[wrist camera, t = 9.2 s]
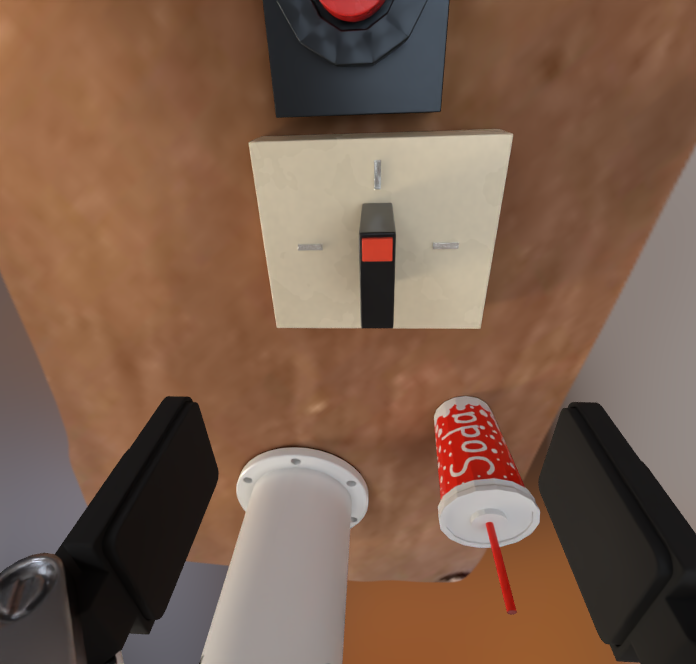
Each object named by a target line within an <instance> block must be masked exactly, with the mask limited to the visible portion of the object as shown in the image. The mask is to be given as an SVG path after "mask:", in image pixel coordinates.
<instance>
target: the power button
mask: <svg viewBox="0 0 696 664" xmlns="http://www.w3.org/2000/svg"><path fill="white" fill-rule="evenodd" d="M319 1H320V2H321V4H322V5H323V6H324V8H325V9H326V10H327V11H328V12H329V13H330V14H331V15H333V16H334V17H336V18H338V19H340V20H342V21H346V22H358V21H362V20H365V19H367V18H369V17H370V16H372V15H373V14H374V13H376V12H377V11H378V10H379V8H380V7H381V6H382V5H383V3H384V2H385V0H319Z"/></svg>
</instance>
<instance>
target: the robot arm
mask: <svg viewBox="0 0 696 664" xmlns="http://www.w3.org/2000/svg"><path fill="white" fill-rule="evenodd" d="M217 481H218V467H217V464H216V461H215V457H214V454H213V451H212V447H211V444H210V441H209V438H208V434H207V431H206V428H205V424H204V421H203V418H202V415H201V411H200V408H199V405H198V404H197V403H196V402H193V401H192V399H191V398H190V397H173V396H168V397H166V398H165V399H164V400H163V401H162V402H161V404H160V405H159V407H158V408H157V410H156V411H155V412H154V414H153V415H152V417H151V418H150V420H149V421H148V423H147V424H146V426H145V427H144V428H143V430H142V431H141V433H140V434H139V436H138V437H137V439H136V440H135V442H134V443H133V444H132V446H131V447H130V449H128V450H127V452H126V453H125V454H124V455H123V456H122V458H121V459H120V461H119V462H118V464H117V465H116V467H115V468H114V469H113V471H112V472H111V474H110V475H109V477H108V478H107V480H106V481H105V482H104V484H103V485H102V487H101V488H100V490H99V491H98V493H97V494H96V495H95V497H94V498H93V500H92V501H91V503H90V504H89V506H88V507H87V508H86V510H85V511H84V513H83V514H82V516H81V517H80V519H79V520H78V521H77V523H76V524H75V526H74V527H73V529H72V530H71V532H70V533H69V534H68V536H67V538H66V539H65V540H64V542H63V543H62V545H61V546H60V547H59V549H58V551H57V552H56V553H55V554H49V553H40V554H35V555H31V556H28V557H26V558H24V559H21V560H19V561H17V562H15V563H14V564H12V565H11V566H9V567H7V568H6V569H4V570H3V571H2V572H1V573H0V664H124V662H123V657H122V653H121V650H122V648H123V646H124V644H125V642H126V639H127V637H128V635H129V633H132V634H149V633H150V631H151V629H152V626H153V624H154V621H155V620H158V619H160V618H161V617H162V616H163V614H164V612H165V610H166V608H167V605H168V603H169V601H170V598H171V595H172V593H173V591H174V588H175V586H176V583H177V581H178V578H179V576H180V573H181V571H182V568H183V566H184V563H185V561H186V559H187V556H188V554H189V551H190V549H191V546H192V544H193V541H194V539H195V536H196V534H197V531H198V529H199V526H200V524H201V521H202V519H203V516H204V514H205V512H206V509H207V507H208V504H209V502H210V499H211V497H212V494H213V492H214V489H215V487H216V484H217ZM539 490H540V493H541V496H542V498H543V501H544V503H545V506H546V508H547V511H548V513H549V515H550V518H551V520H552V522H553V525H554V528H555V530H556V533H557V535H558V537H559V540H560V542H561V545H562V547H563V550H564V552H565V555H566V557H567V559H568V562H569V564H570V567H571V569H572V571H573V574H574V576H575V579H576V581H577V584H578V586H579V589H580V591H581V593H582V596H583V598H584V601H585V603H586V606H587V608H588V611H589V613H590V616H591V618H592V620H593V623H594V625H595V628H596V630H597V632H598V635H599V636H600V638H601V640H602V641H603V642H604V643H605V644H610V646H611V648H612V651H613V654H614V656H615V658H616V661H623V662H639V663H641V664H696V533H695V532H694V531H693V529H692V528H691V527H690V525H689V524H688V522H687V521H686V520H685V518H684V517H683V515H682V514H681V513H680V511H679V510H678V509H677V507H676V506H675V504H674V503H673V502H672V500H671V499H670V497H669V496H668V495H667V493H666V492H665V491H664V489H663V488H662V486H661V485H660V484H659V482H658V481H657V480H656V479H655V477H654V476H653V474H652V473H651V471H650V470H649V468H648V467H647V466H646V465H645V464H644V463H643V462H642V461H641V460H640V459H639V457H638V456H637V455H636V453H635V452H634V451H633V449H632V448H631V446H630V445H629V444H628V443H627V441H626V439H625V438H624V437H623V435H622V434H621V432H620V431H619V430H618V428H617V427H616V425H615V424H614V423H613V421H612V420H611V419H610V417H609V416H608V414H607V413H606V411H605V410H604V409H603V407H602V406H601V405H600V404H598V403H590V402H589V403H585V402H572V403H570V404H569V406H568V408H563V409H562V411H561V413H560V416H559V419H558V422H557V425H556V428H555V431H554V434H553V437H552V440H551V443H550V446H549V449H548V452H547V455H546V459H545V461H544V464H543V467H542V470H541V473H540V476H539ZM237 497H238V500H239V502H240V504H241V506H242V508H243V509H244V510H245V511H246V514H245V517H244V520H243V523H242V527H241V530H240V533H239V536H238V540H237V543H236V546H235V549H234V553H233V556H232V559H231V562H230V566H229V569H228V572H227V575H226V579H225V582H224V585H223V588H222V592H221V595H220V598H219V601H218V605H217V608H216V611H215V614H214V617H213V621H212V624H211V628H210V630H209V634H208V637H207V640H206V643H205V647H204V650H203V653H202V657H201V660H200V663H199V664H342V656H343V641H344V624H345V607H346V591H347V575H348V558H349V542H350V529H351V528H352V527H354V526H355V525H356V524H358V523H359V522H360V521H361V519H362V518H363V517H364V516H365V513H366V511H367V508H368V488H367V485H366V482H365V481H364V479H363V477H362V476H361V474H360V473H359V472H358V471H357V470H356V469H355V468H354V467H353V466H351V465H350V464H348V463H347V462H346V461H344V460H342V459H340V458H338V457H336V456H334V455H332V454H329V453H326V452H323V451H320V450H315V449H310V448H299V447H290V448H280V449H275V450H271V451H267V452H265V453H262V454H260V455H258V456H256V457H255V458H253V459H252V460H250V461H249V462H248V463H247V464H246V465H245V467H244V468H243V470H242V472H241V474H240V476H239V480H238V483H237Z"/></svg>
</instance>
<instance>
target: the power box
mask: <svg viewBox="0 0 696 664" xmlns="http://www.w3.org/2000/svg"><path fill="white" fill-rule="evenodd" d="M449 1H450V0H385V2H384V3H383V5H382V6H381V7H380V8H379V10H378V11H377V12H376V13H374V14H373V15H372V16H370V17H369V18H367V19H365V20H362V21H358V22H346V21H342V20H340V19H338V18H336V17H334V16H333V15H331V14H330V13H329V12H328V11H327V10H326V9H325V8H324V6H323V5H322V4H321V2H320V1H319V0H263V7H264V16H265V25H266V33H267V42H268V51H269V59H270V68H271V76H272V85H273V94H274V102H275V111H276V117H277V118H282V117H310V116H339V115H367V114H395V113H424V112H440V111H441V102H442V89H443V77H444V64H445V51H446V39H447V26H448V14H449Z"/></svg>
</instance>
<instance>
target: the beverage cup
mask: <svg viewBox="0 0 696 664" xmlns="http://www.w3.org/2000/svg"><path fill="white" fill-rule="evenodd" d="M434 424H435V436H436V448H437V460H438V472H439V484H440V496H441V501H440V503H439V505H438V512H439V514H438V516H439V523H440V528H441V530H442V531H443V532H444V533H445V535H446V536H447V537H448V538H449V539H451V540H453V541H456V542H458V543H460V544H462V545H466V546H472V547H478V548H489V547H491V549H492V553H493V557H494V560H495V565H496V569H497V573H498V577H499V581H500V585H501V589H502V594H503V597H504V602H505V605H506V610H507V613H508V614H515V613H517V611H516V608H515V604H514V600H513V596H512V593H511V589H510V585H509V581H508V577H507V573H506V570H505V566H504V562H503V558H502V554H501V550H500V547H501V546H505V545H508V544H512V543H515V542H518V541H520V540H521V539H523V538H525V537H526V536H528V535H530V534H531V533H532V532H533V531H534V529H535V528H536V527H537V525H538V524H539V519H540V510H539V508H538V506H537V504H536V503H535V499H534V497H533V496H532V495H531V493H530V492H529V491H528V489H526V488H525V486H524V484H523V481H522V479H521V477H520V475H519V472H518V470H517V468H516V466H515V463H514V461H513V459H512V456H511V454H510V452H509V450H508V447H507V445H506V443H505V441H504V438H503V436H502V434H501V432H500V429H499V427H498V425H497V423H496V420H495V418H494V416H493V414H492V411H491V409H490V408H489V407H488V405H487V404H486V403H485V402H483V401H482V400H480V399H478V398H475V397H469V396H463V397H455V398H452V399H450V400H448V401H445V402H444V403H443V404H442V405H441V406H440V407H438V408H437V410H436V413H435V415H434Z"/></svg>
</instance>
